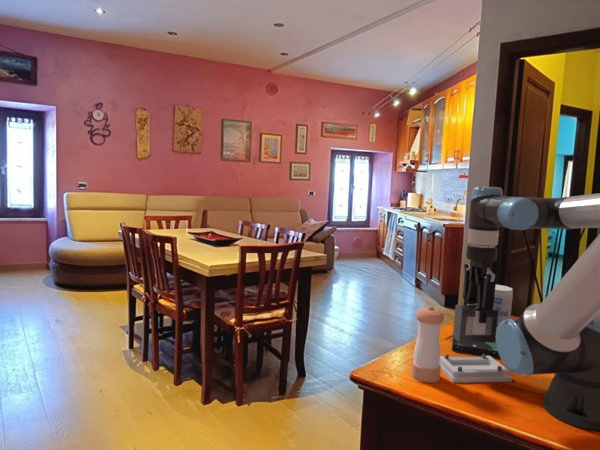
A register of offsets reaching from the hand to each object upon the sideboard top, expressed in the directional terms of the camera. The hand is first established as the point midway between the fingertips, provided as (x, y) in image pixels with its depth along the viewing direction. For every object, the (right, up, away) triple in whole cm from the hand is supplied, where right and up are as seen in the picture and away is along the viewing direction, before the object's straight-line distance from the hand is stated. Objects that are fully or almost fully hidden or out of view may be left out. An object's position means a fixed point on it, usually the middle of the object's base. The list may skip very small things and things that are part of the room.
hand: (474, 330), depth 122 cm
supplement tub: (+23, -8, +40) cm, 46 cm away
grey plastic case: (0, -2, 0) cm, 3 cm away
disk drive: (+8, -11, +18) cm, 23 cm away
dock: (0, -12, +1) cm, 12 cm away
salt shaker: (-14, -12, -3) cm, 19 cm away
